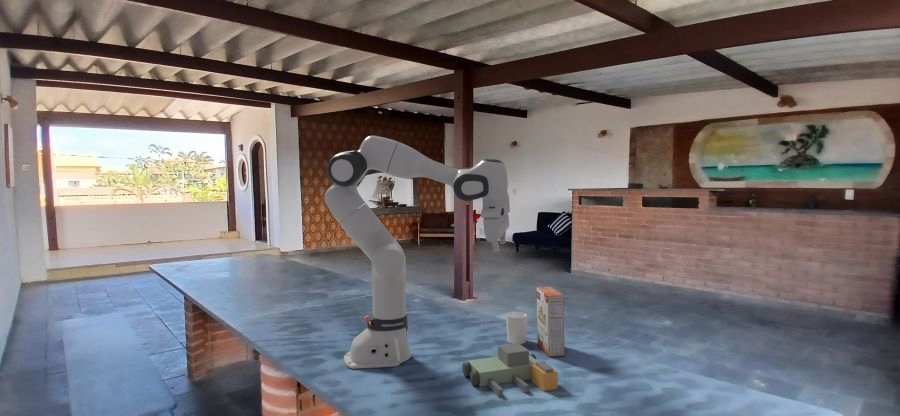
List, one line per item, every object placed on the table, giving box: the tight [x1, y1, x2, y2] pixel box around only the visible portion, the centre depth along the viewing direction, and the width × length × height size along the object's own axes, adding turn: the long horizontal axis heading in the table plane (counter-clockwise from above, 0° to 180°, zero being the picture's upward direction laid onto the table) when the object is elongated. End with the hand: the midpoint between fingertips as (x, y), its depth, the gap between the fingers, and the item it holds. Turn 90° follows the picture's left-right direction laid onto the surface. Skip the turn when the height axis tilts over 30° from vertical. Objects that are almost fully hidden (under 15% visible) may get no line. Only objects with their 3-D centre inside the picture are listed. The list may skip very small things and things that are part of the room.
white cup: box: [505, 311, 528, 345], centre depth 171 cm, size 8×8×10 cm
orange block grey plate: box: [531, 360, 559, 392], centre depth 133 cm, size 4×7×6 cm, turn 17°
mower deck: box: [461, 343, 545, 398], centre depth 136 cm, size 23×18×8 cm
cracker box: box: [536, 286, 566, 358], centre depth 161 cm, size 14×6×21 cm, turn 5°
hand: (499, 247), depth 156 cm, fingers open, 8 cm apart
